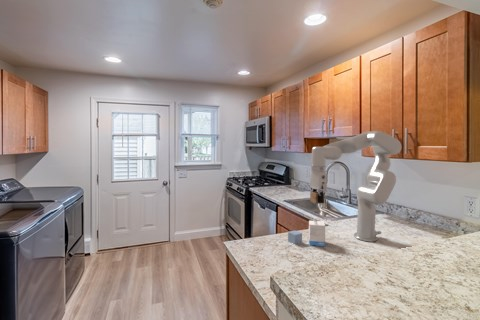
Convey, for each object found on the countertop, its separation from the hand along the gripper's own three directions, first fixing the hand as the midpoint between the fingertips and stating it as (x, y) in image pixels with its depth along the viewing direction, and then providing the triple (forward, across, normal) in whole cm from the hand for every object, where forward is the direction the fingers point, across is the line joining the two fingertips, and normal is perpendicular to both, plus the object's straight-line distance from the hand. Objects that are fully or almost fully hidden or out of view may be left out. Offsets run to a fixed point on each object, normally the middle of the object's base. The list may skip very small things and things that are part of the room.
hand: (317, 201), depth 139 cm
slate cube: (+24, +4, +11) cm, 27 cm away
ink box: (+24, 0, 0) cm, 24 cm away
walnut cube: (+1, 0, 0) cm, 1 cm away
